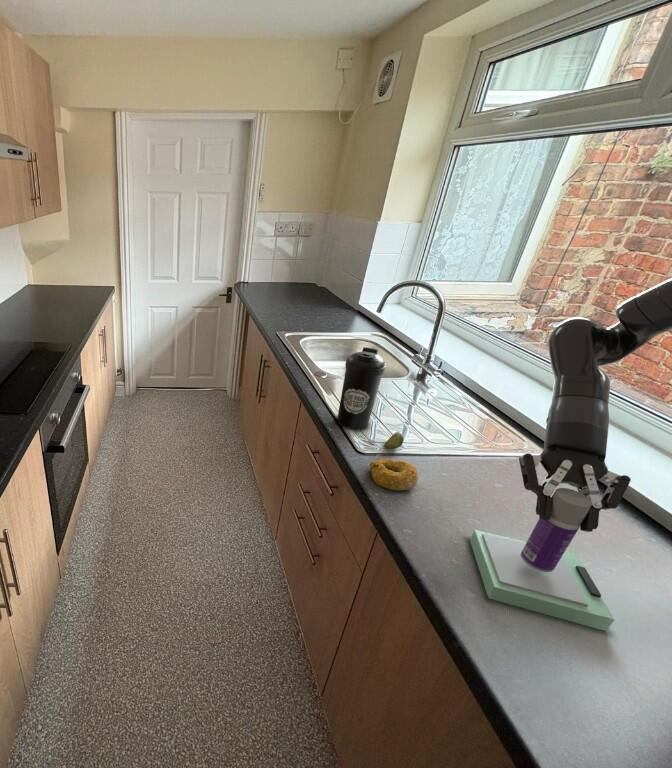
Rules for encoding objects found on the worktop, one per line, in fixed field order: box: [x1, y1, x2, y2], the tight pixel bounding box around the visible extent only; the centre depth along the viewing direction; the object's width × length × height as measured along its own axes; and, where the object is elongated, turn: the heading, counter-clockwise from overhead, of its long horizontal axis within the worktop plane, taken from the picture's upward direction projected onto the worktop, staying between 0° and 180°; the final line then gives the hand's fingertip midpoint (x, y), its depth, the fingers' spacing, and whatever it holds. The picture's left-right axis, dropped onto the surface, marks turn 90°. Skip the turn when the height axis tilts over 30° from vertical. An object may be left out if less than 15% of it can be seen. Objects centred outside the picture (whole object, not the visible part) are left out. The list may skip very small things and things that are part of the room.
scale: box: [469, 529, 615, 632], centre depth 75 cm, size 16×14×4 cm
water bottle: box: [336, 346, 387, 431], centre depth 120 cm, size 10×10×23 cm
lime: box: [384, 431, 405, 450], centre depth 112 cm, size 4×5×5 cm
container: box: [521, 487, 592, 572], centre depth 71 cm, size 5×5×15 cm
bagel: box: [369, 458, 419, 491], centre depth 100 cm, size 10×11×5 cm
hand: (565, 524), depth 68 cm, fingers closed on container, 4 cm apart
